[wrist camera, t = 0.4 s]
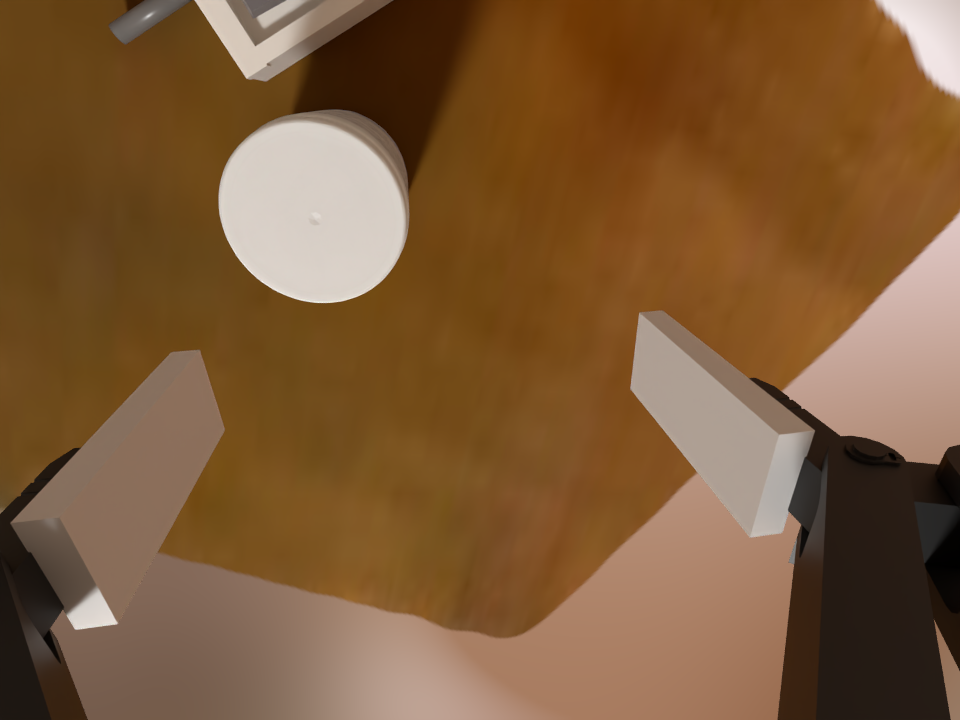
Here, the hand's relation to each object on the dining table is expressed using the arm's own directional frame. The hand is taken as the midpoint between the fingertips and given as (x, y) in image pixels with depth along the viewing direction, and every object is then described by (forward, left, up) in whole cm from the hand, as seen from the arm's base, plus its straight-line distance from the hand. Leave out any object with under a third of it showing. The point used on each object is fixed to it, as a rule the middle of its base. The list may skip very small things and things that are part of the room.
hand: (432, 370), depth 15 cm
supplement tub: (-5, -3, -28) cm, 29 cm away
